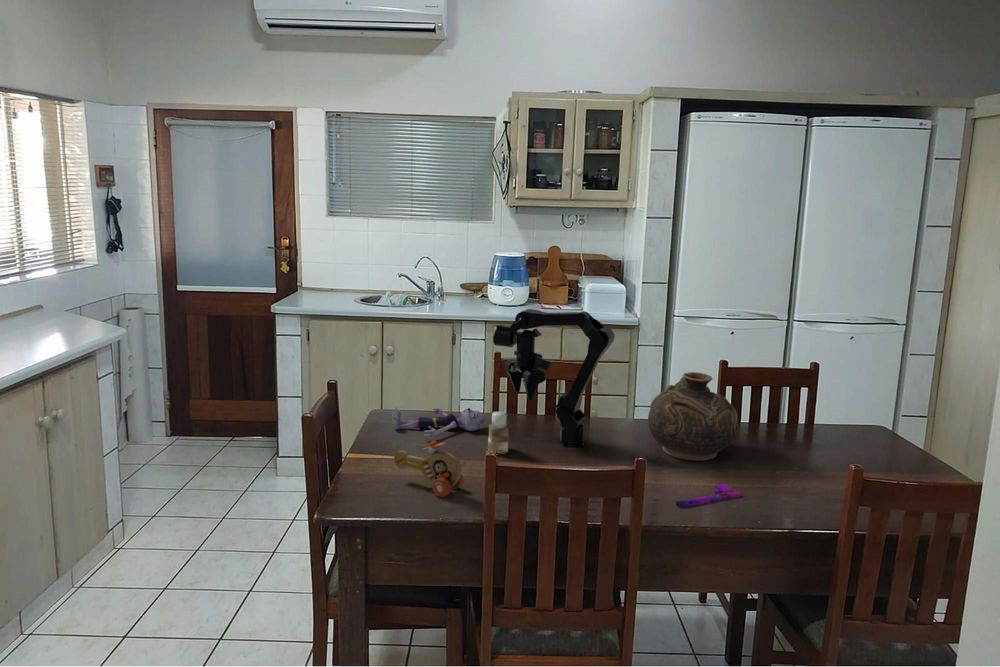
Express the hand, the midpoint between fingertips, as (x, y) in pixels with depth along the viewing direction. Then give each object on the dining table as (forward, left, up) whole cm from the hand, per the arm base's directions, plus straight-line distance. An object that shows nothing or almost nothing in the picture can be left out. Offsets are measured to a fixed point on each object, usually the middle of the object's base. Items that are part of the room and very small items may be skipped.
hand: (523, 396), depth 242 cm
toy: (+27, -6, -14) cm, 31 cm away
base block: (+9, +15, -13) cm, 22 cm away
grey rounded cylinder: (+9, +15, -5) cm, 18 cm away
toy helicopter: (+29, +43, -13) cm, 53 cm away
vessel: (-51, +15, -13) cm, 55 cm away
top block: (+9, +15, -9) cm, 20 cm away
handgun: (-45, +49, -14) cm, 68 cm away
